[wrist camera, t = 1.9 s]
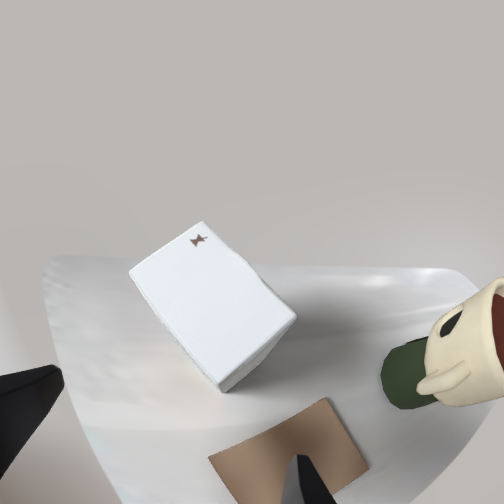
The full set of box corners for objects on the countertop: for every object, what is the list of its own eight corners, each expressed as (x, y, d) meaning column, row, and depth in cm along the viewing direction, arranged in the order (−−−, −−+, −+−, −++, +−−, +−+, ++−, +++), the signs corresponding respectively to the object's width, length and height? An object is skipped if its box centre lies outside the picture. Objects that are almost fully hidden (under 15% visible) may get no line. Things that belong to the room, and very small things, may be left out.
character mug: (430, 325, 23) (522, 259, 12) (451, 385, 19) (553, 344, 8) (344, 363, 20) (450, 305, 9) (366, 437, 17) (488, 438, 6)
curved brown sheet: (259, 528, 12) (259, 531, 12) (208, 456, 16) (207, 458, 15) (366, 467, 15) (369, 468, 15) (323, 398, 19) (325, 397, 18)
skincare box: (173, 339, 20) (123, 267, 10) (213, 308, 22) (203, 214, 12) (223, 397, 18) (217, 389, 8) (264, 362, 20) (303, 312, 10)
